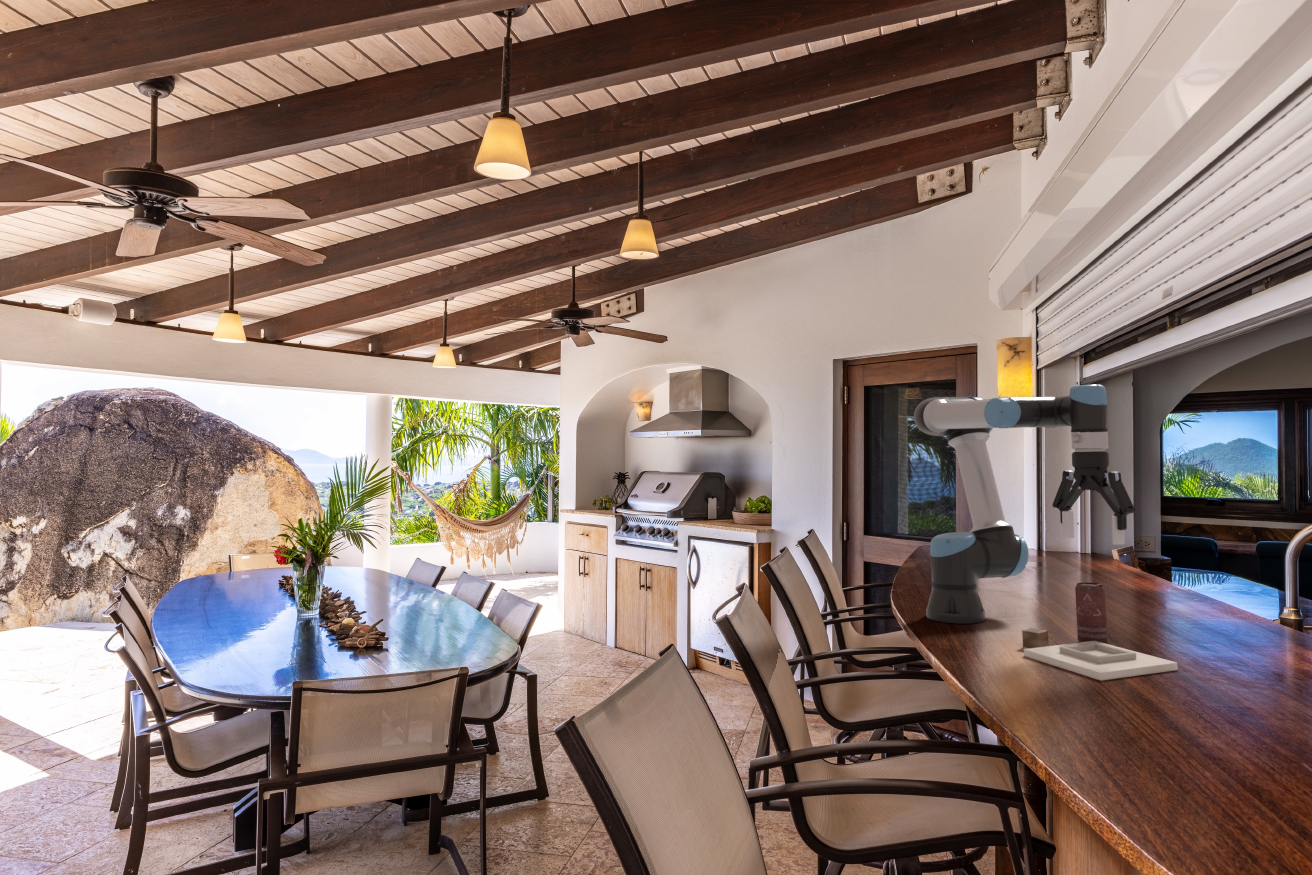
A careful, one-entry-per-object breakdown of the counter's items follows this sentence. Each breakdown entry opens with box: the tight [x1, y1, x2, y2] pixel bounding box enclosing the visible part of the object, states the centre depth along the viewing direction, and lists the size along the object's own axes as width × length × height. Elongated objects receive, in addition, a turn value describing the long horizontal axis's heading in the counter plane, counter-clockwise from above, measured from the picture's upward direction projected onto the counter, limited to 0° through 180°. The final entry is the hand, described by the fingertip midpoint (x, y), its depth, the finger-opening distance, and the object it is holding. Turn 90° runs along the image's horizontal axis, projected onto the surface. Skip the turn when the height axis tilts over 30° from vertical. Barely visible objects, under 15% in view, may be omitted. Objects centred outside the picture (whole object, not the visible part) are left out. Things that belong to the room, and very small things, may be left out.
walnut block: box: [1021, 627, 1050, 649], centre depth 172 cm, size 4×4×4 cm
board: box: [1023, 641, 1178, 681], centre depth 158 cm, size 20×20×3 cm
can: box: [1074, 582, 1109, 644], centre depth 174 cm, size 6×6×14 cm
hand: (1092, 541), depth 174 cm, fingers open, 13 cm apart
